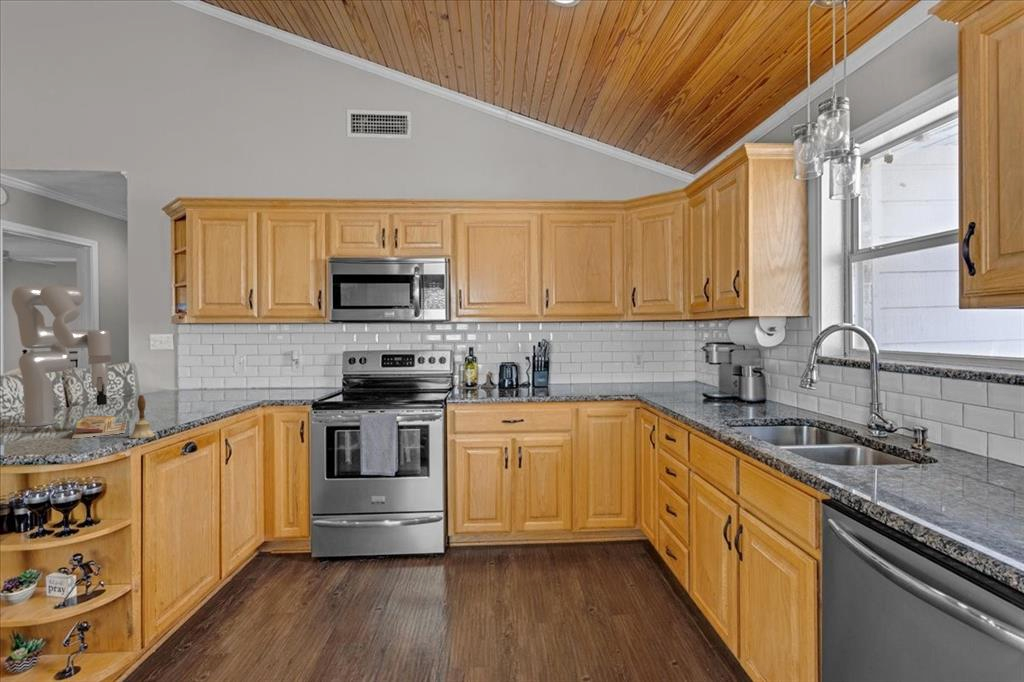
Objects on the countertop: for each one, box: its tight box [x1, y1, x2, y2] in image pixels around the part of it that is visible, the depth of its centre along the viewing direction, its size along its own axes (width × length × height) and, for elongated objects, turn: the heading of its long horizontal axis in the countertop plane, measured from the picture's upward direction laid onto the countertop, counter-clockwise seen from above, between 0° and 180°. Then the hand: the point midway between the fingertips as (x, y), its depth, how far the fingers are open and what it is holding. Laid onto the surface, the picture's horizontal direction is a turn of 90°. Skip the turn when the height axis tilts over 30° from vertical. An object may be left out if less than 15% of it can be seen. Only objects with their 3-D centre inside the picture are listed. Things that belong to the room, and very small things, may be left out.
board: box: [72, 421, 128, 439], centre depth 219 cm, size 22×16×2 cm
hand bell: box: [129, 394, 156, 439], centre depth 208 cm, size 8×8×16 cm
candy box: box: [75, 414, 117, 433], centre depth 216 cm, size 9×4×15 cm
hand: (101, 404), depth 223 cm, fingers closed
